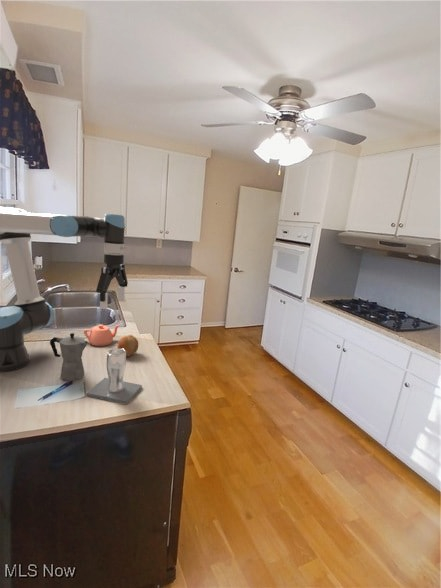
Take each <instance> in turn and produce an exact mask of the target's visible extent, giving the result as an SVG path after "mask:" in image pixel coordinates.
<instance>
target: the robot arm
mask: <svg viewBox="0 0 441 588" xmlns="http://www.w3.org/2000/svg"><path fill="white" fill-rule="evenodd" d="M125 220H126V219H125V216H124V215H122V214H113V213H105V214H104V217H102V218H101V217H93V216H86V215H70V214H64V213H63V214H55V213H53V214H51V213H34V212H32V213H31V212H27V210H24V209H22V208H17V207H9V206H8V207H6V206H5V207H4V206H0V243H1V244H3V245H4V247H5V251H6V257H7V259H8V263H9V264H8V265H9V268H10V273H11V276H12V277H11V278H12V281H13V286H14V289H15V294H16V298H17V300H16V301H15V303H14V306H13V305H12V306H9V305H8V306H6V307H5V306H4V307H0V372H1V373H3V372H10V371H11V372H12V371H15V370H19V369H21V368H24V367H25V366H27V365H28V364H30V362H31V360H30V359H31V358H30V353H28V349H27V348H26V346H25V336H26V335H28V334H30V333H34V332H36V331H39V330H42V329H44V328H46V327H48V326H50V325H51V324H52V322H53V320H54V316H55V312H54V309H53V307H52V306H51V305H50V303H49V302H46V299H45V298H44V297H43V296H41V294H40V290H39V286H38V285H39V284H38V280H37V277H36V276H37V275H36V273H35V267H34V264H33V258H32V254H31V250H30V246H29V242H30V241H31V239H32V237H31V235H32V234H33V235H44V236H45V235H46V236H58V237H63V238H71V237H97V238H103V240H104V241H103V252H104V254H103V263H104V264H106V267H105V266H103V267H101V270H100V271H101V272H100V276H99V279H98V282H97V285H96V286H97V287H96V291H95V292H96V293H98V294H99V309H100V310H108V299H109V298H108V295H109V293H108V289H109V287H110V285H111V282H112V280H113V279H114V278H115V279H116V281H117V284H118V285H119V286H118V287H117V302H121V303H123V302H125V294H126V293H125V291H126V290H125V288H127V287H128V285H129V282H128V277H127V273H126V267H125V264H124V262H125V261H124V259H125V258H124V257H125V255H124V253H125V252H124V251H125V231H126V230H125V228H126V223H125V222H126V221H125Z"/></svg>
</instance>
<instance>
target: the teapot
mask: <svg viewBox="0 0 441 588" xmlns="http://www.w3.org/2000/svg"><path fill="white" fill-rule="evenodd" d="M120 326H121V324H119V323H118V324H117V325H115V326H114V329H113V331H111V329H110V327H108V326H107V325H104V324H98V325H95V326H93V327H92V329H89V328H85V329H83V334H84V336H85V337H86V338H87V342H89V345H91V344H92V346H94V345H95V347H103V346H102V345H105V346H108V345H107V344H109V345H110V344H111V343H112V342H113V340H114V338H115V337H116V335H117V332H118V328H119V327H120ZM88 332H89V334H88Z"/></svg>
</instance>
